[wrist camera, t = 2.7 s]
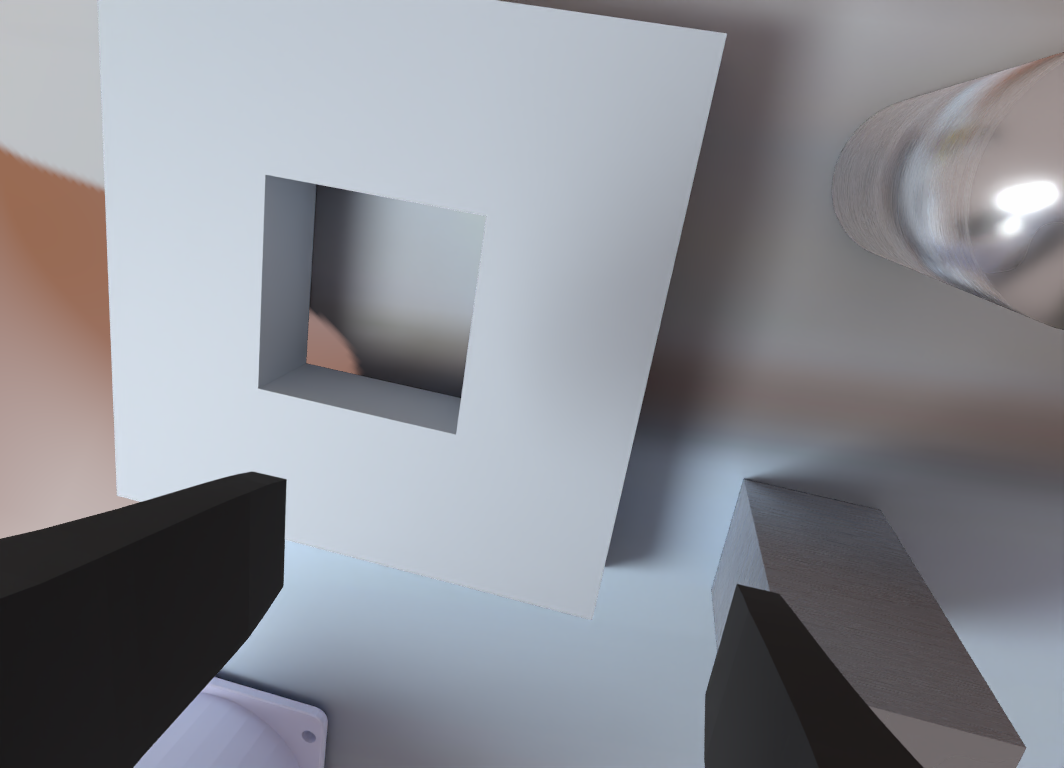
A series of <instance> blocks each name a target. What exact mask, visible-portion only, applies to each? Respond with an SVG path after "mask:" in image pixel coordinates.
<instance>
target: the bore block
mask: <svg viewBox="0 0 1064 768" xmlns="http://www.w3.org/2000/svg"><path fill="white" fill-rule="evenodd" d="M97 2H98V28H99V53H100V78H101V104H102V129H103V154H104V179H105V204H106V230H107V255H108V278H109V305H110V330H111V356H112V380H113V405H114V406H113V407H114V432H115V455H116V481H117V482H116V483H117V496H121V497H125V498H128V499H132V500H136V501H140V502H143V501H146V500H149V499H153V498H156V497H159V496H163V495H166V494H169V493H173V492H176V491H179V490H183V489H186V488H189V487H192V486H196V485H199V484H203V483H206V482H210V481H213V480H217V479H220V478H224V477H228V476H232V475H236V474H241V473H246V472H252V471H253V472H257V473H262V474H266V475H270V476H275V477H279V478H283V479H287V484H286V516H285V540H288V541H292V542H296V543H300V544H303V545H307V546H311V547H315V548H319V549H322V550H326V551H330V552H334V553H338V554H342V555H345V556H349V557H353V558H357V559H361V560H364V561H368V562H372V563H376V564H380V565H383V566H387V567H391V568H395V569H399V570H402V571H406V572H410V573H414V574H418V575H421V576H425V577H429V578H433V579H437V580H440V581H444V582H448V583H452V584H456V585H459V586H463V587H467V588H471V589H475V590H478V591H482V592H486V593H490V594H494V595H497V596H501V597H505V598H509V599H513V600H517V601H520V602H524V603H528V604H532V605H536V606H539V607H543V608H547V609H551V610H555V611H558V612H562V613H566V614H570V615H574V616H577V617H581V618H585V619H589V620H592V619H593V615H594V610H595V606H596V602H597V597H598V593H599V589H600V584H601V580H602V576H603V571H604V567H605V563H606V558H607V554H608V549H609V545H610V541H611V536H612V532H613V528H614V523H615V519H616V515H617V510H618V506H619V502H620V497H621V493H622V489H623V484H624V480H625V476H626V471H627V467H628V463H629V458H630V454H631V449H632V445H633V441H634V436H635V432H636V428H637V423H638V419H639V415H640V410H641V406H642V402H643V397H644V393H645V389H646V384H647V380H648V376H649V371H650V367H651V362H652V358H653V354H654V349H655V345H656V341H657V336H658V332H659V328H660V323H661V319H662V315H663V310H664V306H665V302H666V297H667V293H668V289H669V284H670V280H671V276H672V271H673V267H674V262H675V258H676V254H677V249H678V245H679V241H680V236H681V232H682V228H683V223H684V219H685V215H686V210H687V206H688V202H689V197H690V193H691V189H692V184H693V180H694V176H695V171H696V167H697V162H698V158H699V154H700V149H701V145H702V141H703V136H704V132H705V128H706V123H707V119H708V115H709V110H710V106H711V102H712V97H713V93H714V89H715V84H716V80H717V76H718V71H719V67H720V62H721V58H722V54H723V49H724V45H725V41H726V36H727V33H720V32H713V31H706V30H699V29H692V28H685V27H678V26H671V25H665V24H658V23H651V22H644V21H637V20H630V19H623V18H616V17H609V16H602V15H595V14H588V13H581V12H574V11H567V10H561V9H554V8H547V7H540V6H533V5H526V4H519V3H512V2H505V1H498V0H97ZM316 184H318V185H323V186H329V187H334V188H339V189H345V190H350V191H355V192H361V193H366V194H371V195H377V196H382V197H387V198H393V199H398V200H403V201H409V202H414V203H419V204H425V205H430V206H435V207H441V208H446V209H451V210H457V211H462V212H467V213H473V214H478V215H483V216H486V220H485V228H484V235H483V242H482V250H481V257H480V264H479V271H478V279H477V286H476V293H475V300H474V308H473V315H472V322H471V330H470V337H469V344H468V351H467V359H466V366H465V373H464V381H463V388H462V395H461V398H458V397H453V396H449V395H445V394H440V393H436V392H431V391H427V390H422V389H418V388H413V387H409V386H405V385H400V384H396V383H391V382H387V381H382V380H378V379H373V378H369V377H365V376H360V375H356V374H351V373H347V372H342V371H338V370H333V369H329V368H325V367H320V366H315V365H311V364H307V363H306V357H307V340H308V322H309V305H310V288H311V270H312V253H313V235H314V218H315V201H316Z"/></svg>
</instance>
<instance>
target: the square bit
mask: <svg viewBox="0 0 1064 768" xmlns="http://www.w3.org/2000/svg"><path fill="white" fill-rule="evenodd" d="M737 584H740V585H744V586H748V587H753V588H757V589H761V590H766V591H770V592H774V593H779V594H780V595H781V596H782V598H783V599H784V600H785V601H786V603H787V604H788V605H789V606H790V608H791V609H792V610H793V611H794V613H795V614H796V615H797V617H798V618H799V619H800V621H801V622H802V623H803V625H804V626H805V627H806V628H807V630H808V631H809V632H810V634H811V635H812V636H813V638H814V639H815V640H816V642H817V643H818V644H819V645H820V647H821V648H822V649H823V651H824V652H825V653H826V654H827V656H828V657H829V658H830V660H831V661H832V662H833V663H834V665H835V666H836V667H837V668H838V670H839V671H840V672H841V673H842V675H843V676H844V677H845V678H846V680H847V681H848V682H849V683H850V685H851V686H852V687H853V688H854V689H855V691H856V692H857V693H858V694H859V695H860V697H861V698H862V699H863V700H864V701H865V703H866V704H867V705H868V706H869V707H870V708H871V710H872V711H873V712H874V713H875V714H876V715H877V717H878V718H879V719H880V720H881V721H882V722H883V723H884V725H885V726H886V727H887V728H888V729H889V730H890V731H891V732H892V733H893V735H894V736H895V737H896V738H897V739H898V740H899V741H900V742H901V743H902V744H903V746H904V747H905V748H906V749H907V750H908V751H909V752H910V753H911V754H912V756H913V757H914V758H915V759H916V760H917V761H918V762H919V763H920V764H921V765H922V766H923V767H924V768H1016V767H1017V765H1018V763H1019V761H1020V759H1021V757H1022V755H1023V753H1024V751H1025V749H1026V747H1025V745H1024V743H1023V742H1022V740H1021V738H1020V737H1019V735H1018V734H1017V732H1016V730H1015V729H1014V727H1013V725H1012V724H1011V722H1010V721H1009V719H1008V717H1007V716H1006V714H1005V712H1004V711H1003V709H1002V707H1001V706H1000V704H999V703H998V701H997V699H996V698H995V696H994V694H993V693H992V691H991V690H990V688H989V686H988V685H987V683H986V681H985V680H984V678H983V676H982V675H981V673H980V672H979V670H978V668H977V667H976V665H975V663H974V662H973V660H972V659H971V657H970V655H969V654H968V652H967V650H966V649H965V647H964V645H963V644H962V642H961V641H960V639H959V637H958V636H957V634H956V632H955V631H954V629H953V628H952V626H951V624H950V623H949V621H948V619H947V618H946V616H945V614H944V613H943V611H942V610H941V608H940V606H939V605H938V603H937V601H936V600H935V598H934V597H933V595H932V593H931V592H930V590H929V588H928V587H927V585H926V584H925V582H924V580H923V579H922V577H921V575H920V574H919V572H918V570H917V569H916V567H915V566H914V564H913V562H912V561H911V559H910V557H909V556H908V554H907V553H906V551H905V549H904V548H903V546H902V544H901V543H900V541H899V539H898V538H897V536H896V535H895V533H894V531H893V530H892V528H891V526H890V525H889V523H888V522H887V520H886V518H885V517H884V515H883V513H882V512H881V510H878V509H874V508H869V507H865V506H860V505H856V504H852V503H847V502H843V501H838V500H834V499H830V498H825V497H821V496H817V495H812V494H808V493H803V492H799V491H795V490H790V489H786V488H781V487H777V486H773V485H768V484H764V483H759V482H755V481H751V480H746V479H744V480H743V483H742V487H741V490H740V493H739V497H738V500H737V504H736V507H735V510H734V514H733V517H732V521H731V524H730V527H729V531H728V534H727V538H726V541H725V545H724V548H723V551H722V555H721V558H720V562H719V565H718V568H717V572H716V575H715V579H714V582H713V586H712V589H711V590H712V601H713V612H714V622H715V633H716V644H717V652H718V648H719V645H720V641H721V638H722V634H723V631H724V627H725V623H726V620H727V616H728V613H729V609H730V606H731V602H732V599H733V595H734V592H735V588H736V585H737Z"/></svg>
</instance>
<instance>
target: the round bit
mask: <svg viewBox="0 0 1064 768" xmlns="http://www.w3.org/2000/svg"><path fill="white" fill-rule="evenodd" d="M832 200H833V206H834V210H835V213H836V216H837V218H838V220H839V222H840V224H841V226H842V228H843V229H844V231H845V232H846V233H847V235H848V236H849V237H850V238H851V239H852V240H853V241H854V242H855V243H857V244H858V245H859V246H861V247H862V248H864V249H866V250H867V251H869V252H871V253H873V254H876V255H878V256H881V257H883V258H886V259H888V260H891V261H893V262H895V263H898V264H900V265H903V266H905V267H908V268H910V269H912V270H915V271H917V272H920V273H922V274H925V275H927V276H930V277H932V278H934V279H937V280H939V281H942V282H944V283H947V284H949V285H951V286H954V287H956V288H959V289H961V290H964V291H966V292H969V293H971V294H973V295H976V296H978V297H981V298H983V299H986V300H988V301H990V302H993V303H995V304H998V305H1000V306H1003V307H1005V308H1008V309H1010V310H1012V311H1015V312H1017V313H1020V314H1022V315H1025V316H1027V317H1029V318H1032V319H1034V320H1037V321H1039V322H1042V323H1044V324H1047V325H1049V326H1052V327H1054V328H1058V329H1062V330H1064V52H1062V53H1059V54H1055V55H1052V56H1049V57H1046V58H1042V59H1039V60H1036V61H1032V62H1029V63H1026V64H1023V65H1019V66H1016V67H1013V68H1009V69H1006V70H1003V71H999V72H996V73H993V74H990V75H986V76H983V77H980V78H976V79H973V80H970V81H967V82H963V83H960V84H957V85H953V86H950V87H947V88H944V89H940V90H937V91H934V92H930V93H927V94H924V95H921V96H917V97H914V98H911V99H907V100H904V101H901V102H898V103H895V104H893V105H891V106H888V107H886V108H884V109H883V110H881V111H879V112H878V113H876V114H875V115H873V116H872V117H871V118H869V119H868V120H867V121H865V122H864V123H863V124H862V125H861V126H860V127H859V128H858V129H857V130H856V131H855V133H854V134H853V135H852V136H851V137H850V139H849V140H848V142H847V143H846V145H845V146H844V148H843V150H842V152H841V154H840V156H839V158H838V161H837V164H836V166H835V170H834V175H833V181H832Z"/></svg>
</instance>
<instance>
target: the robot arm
mask: <svg viewBox="0 0 1064 768" xmlns="http://www.w3.org/2000/svg"><path fill="white" fill-rule="evenodd" d="M286 484H287V479H283V478H279V477H275V476H270V475H266V474H262V473H257V472H253V471H252V472H246V473H241V474H236V475H232V476H228V477H224V478H220V479H217V480H213V481H210V482H206V483H203V484H199V485H196V486H192V487H189V488H186V489H183V490H179V491H176V492H173V493H169V494H166V495H163V496H159V497H156V498H153V499H149V500H146V501H143V502H139V503H136V504H133V505H129V506H126V507H122V508H119V509H115V510H112V511H108V512H105V513H101V514H97V515H93V516H89V517H86V518H82V519H79V520H75V521H71V522H67V523H63V524H60V525H56V526H53V527H49V528H45V529H41V530H37V531H33V532H28V533H24V534H20V535H15V536H11V537H6V538H2V539H0V768H324V762H325V750H326V738H327V726H328V720H327V716H326V715H325V713H324V712H323V711H322V710H321V709H319V708H317V707H314V706H311V705H307V704H304V703H301V702H297V701H294V700H291V699H287V698H284V697H280V696H277V695H274V694H270V693H267V692H264V691H260V690H257V689H253V688H250V687H247V686H243V685H240V684H236V683H233V682H230V681H226V680H223V679H220V678H216V677H215V676H216V674H217V673H218V672H219V671H220V670H221V669H222V668H223V666H224V665H225V664H226V663H227V662H228V661H229V660H230V659H231V657H232V656H233V655H234V654H235V653H236V652H237V651H238V649H239V648H240V647H241V646H242V645H243V644H244V642H245V641H246V640H247V639H248V638H249V636H250V635H251V634H252V632H253V631H254V629H255V628H256V626H257V625H258V624H259V622H260V621H261V619H262V618H263V616H264V615H265V614H266V612H267V611H268V609H269V607H270V606H271V604H272V603H273V601H274V600H275V598H276V597H277V595H278V594H279V592H280V591H281V589H282V588H283V581H284V549H285V516H286ZM311 732H312V733H311ZM704 761H705V768H924V767H923V766H922V765H921V764H920V763H919V762H918V761H917V760H916V759H915V758H914V757H913V756H912V754H911V753H910V752H909V751H908V750H907V749H906V748H905V747H904V746H903V744H902V743H901V742H900V741H899V740H898V739H897V738H896V737H895V736H894V735H893V733H892V732H891V731H890V730H889V729H888V728H887V727H886V726H885V725H884V723H883V722H882V721H881V720H880V719H879V718H878V717H877V715H876V714H875V713H874V712H873V711H872V710H871V708H870V707H869V706H868V705H867V704H866V703H865V701H864V700H863V699H862V698H861V697H860V695H859V694H858V693H857V692H856V691H855V689H854V688H853V687H852V686H851V685H850V683H849V682H848V681H847V680H846V678H845V677H844V676H843V675H842V673H841V672H840V671H839V670H838V668H837V667H836V666H835V665H834V663H833V662H832V661H831V660H830V658H829V657H828V656H827V654H826V653H825V652H824V651H823V649H822V648H821V647H820V645H819V644H818V643H817V642H816V640H815V639H814V638H813V636H812V635H811V634H810V632H809V631H808V630H807V628H806V627H805V626H804V625H803V623H802V622H801V621H800V619H799V618H798V617H797V615H796V614H795V613H794V611H793V610H792V609H791V608H790V606H789V605H788V604H787V603H786V601H785V600H784V599H783V598H782V596H781V595H780V594H779V593H774V592H770V591H766V590H761V589H757V588H753V587H748V586H744V585H740V584H737V585H736V588H735V592H734V595H733V599H732V602H731V606H730V609H729V613H728V616H727V620H726V623H725V627H724V631H723V634H722V638H721V641H720V645H719V648H718V652H717V655H716V659H715V662H714V666H713V670H712V673H711V677H710V680H709V684H708V687H707V691H706V696H705V752H704Z"/></svg>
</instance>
